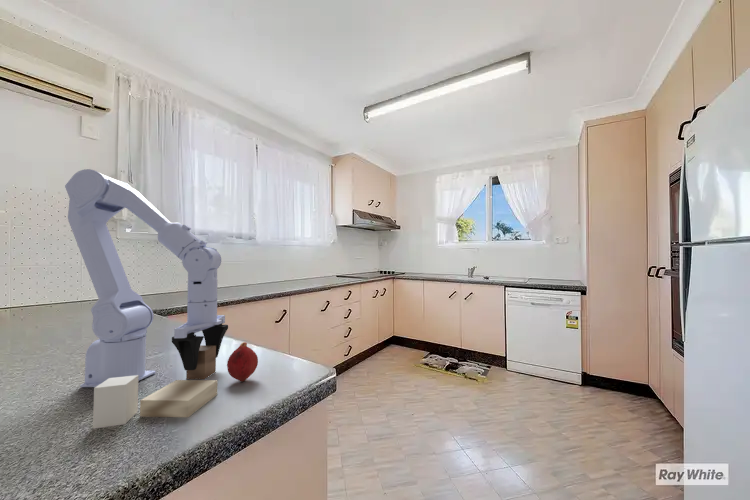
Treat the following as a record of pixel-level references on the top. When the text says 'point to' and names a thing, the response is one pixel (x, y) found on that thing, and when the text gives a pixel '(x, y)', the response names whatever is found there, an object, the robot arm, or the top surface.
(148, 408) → the beech slab
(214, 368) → the walnut block
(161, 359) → the top surface
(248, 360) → the onion
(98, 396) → the offwhite block
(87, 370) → the robot arm
